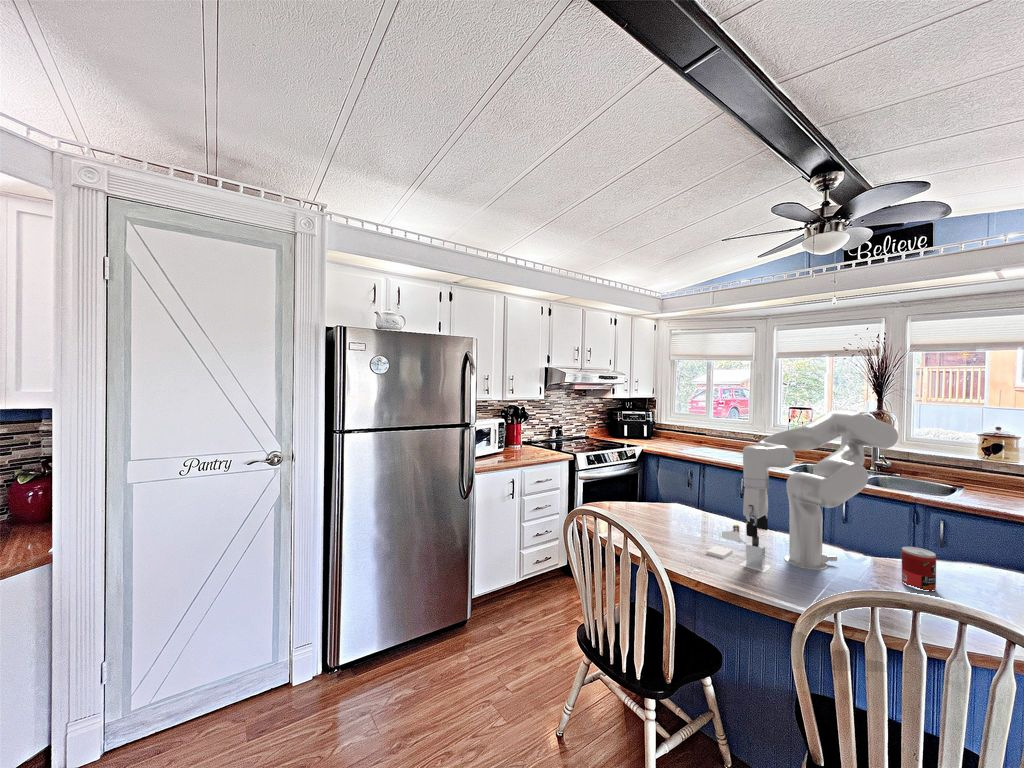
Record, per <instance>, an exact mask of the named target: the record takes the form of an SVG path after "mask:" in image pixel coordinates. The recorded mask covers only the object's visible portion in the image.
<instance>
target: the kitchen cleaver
mask: <svg viewBox="0 0 1024 768" xmlns="http://www.w3.org/2000/svg"><path fill="white" fill-rule="evenodd" d="M732 528H733V531H722V536H721V538H722V537H723V538H722V539H725V540H730V541H734V542H736V543H741V544H745V545H746V542H745V541H744V540H743V539H742V538H741V536H740V526H739V525H737V524H734V525H733V527H732Z"/></svg>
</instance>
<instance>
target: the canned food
mask: <svg viewBox="0 0 1024 768" xmlns="http://www.w3.org/2000/svg"><path fill="white" fill-rule="evenodd" d="M936 555H937V554H936V553H935V552H933V551H931V550H928V549H925V548H921V547H915V546H902V547H901V582H902V583H903V582H904V583H906V584H907V585H911V586H914V587H917V588H920V589H923V590H929V591H932V590H935V591H936V589H937V556H936Z"/></svg>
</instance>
